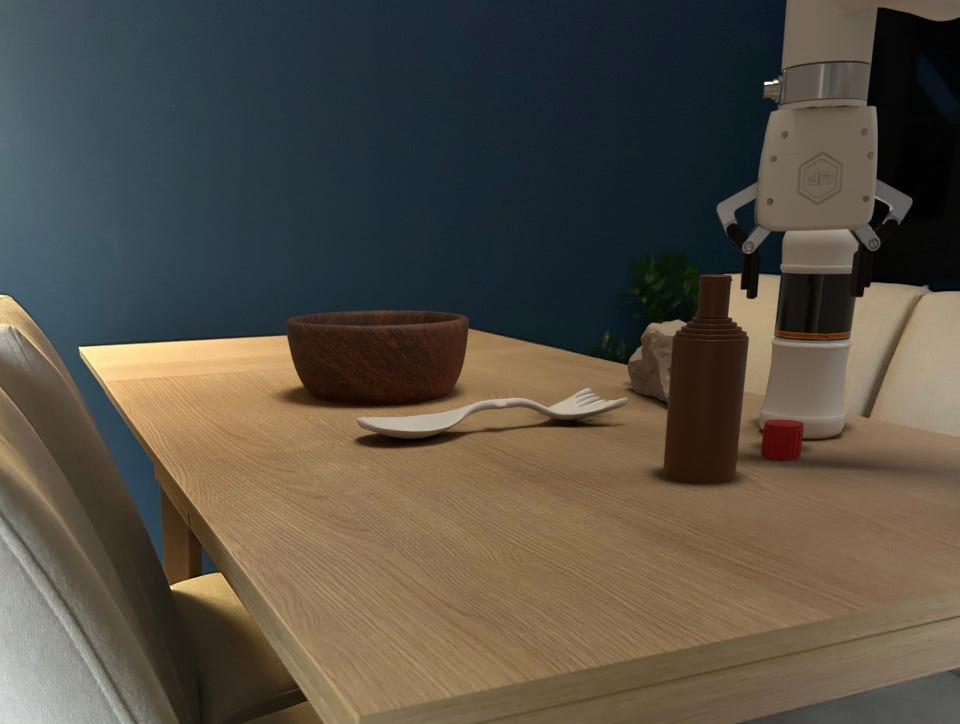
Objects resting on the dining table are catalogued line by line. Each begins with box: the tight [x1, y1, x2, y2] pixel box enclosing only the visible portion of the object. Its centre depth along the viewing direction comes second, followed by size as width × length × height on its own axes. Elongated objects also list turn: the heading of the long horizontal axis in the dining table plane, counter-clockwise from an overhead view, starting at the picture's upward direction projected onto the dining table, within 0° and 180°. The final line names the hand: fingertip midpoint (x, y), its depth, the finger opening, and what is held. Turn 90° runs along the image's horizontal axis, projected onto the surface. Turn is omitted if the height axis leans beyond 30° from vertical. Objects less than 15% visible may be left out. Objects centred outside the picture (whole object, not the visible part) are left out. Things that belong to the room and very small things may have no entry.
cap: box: [760, 419, 804, 461], centre depth 98 cm, size 4×4×3 cm
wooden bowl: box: [284, 309, 470, 405], centre depth 135 cm, size 25×25×10 cm
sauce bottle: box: [662, 274, 750, 485], centre depth 85 cm, size 6×6×18 cm
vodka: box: [758, 229, 859, 440], centre depth 104 cm, size 9×9×30 cm
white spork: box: [356, 387, 629, 440], centre depth 111 cm, size 9×32×4 cm, turn 116°
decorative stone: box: [627, 319, 687, 405], centre depth 130 cm, size 20×8×10 cm, turn 13°
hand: (803, 297), depth 92 cm, fingers open, 9 cm apart
